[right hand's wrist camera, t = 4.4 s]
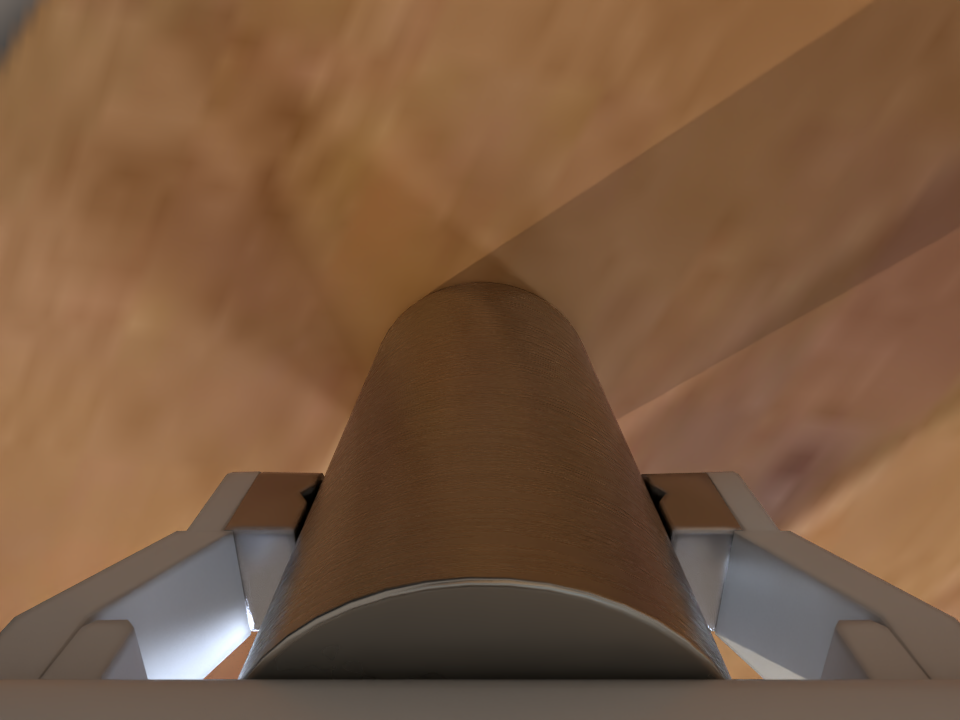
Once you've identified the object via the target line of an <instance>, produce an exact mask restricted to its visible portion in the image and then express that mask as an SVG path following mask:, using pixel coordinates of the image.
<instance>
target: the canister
mask: <svg viewBox="0 0 960 720" xmlns="http://www.w3.org/2000/svg"><path fill="white" fill-rule="evenodd" d="M238 679H731V677H730V675H729V672H728V670H727V668H726V666H725V663H724V661H723V659H722V657H721V654H720V652H719V650H718V648H717V645H716V643H715V641H714V639H713V636H712V634H711V632H710V630H709V627H708V625H707V623H706V621H705V618H704V616H703V614H702V612H701V609H700V607H699V605H698V603H697V600H696V598H695V596H694V594H693V591H692V589H691V587H690V585H689V582H688V580H687V578H686V576H685V573H684V571H683V569H682V567H681V564H680V562H679V560H678V558H677V555H676V553H675V551H674V548H673V546H672V544H671V542H670V539H669V537H668V535H667V533H666V530H665V528H664V526H663V524H662V521H661V519H660V517H659V515H658V512H657V510H656V508H655V506H654V503H653V501H652V499H651V497H650V494H649V492H648V490H647V488H646V485H645V483H644V481H643V479H642V476H641V474H640V472H639V470H638V467H637V465H636V463H635V461H634V458H633V456H632V454H631V452H630V449H629V447H628V445H627V443H626V440H625V438H624V436H623V434H622V431H621V429H620V427H619V425H618V422H617V420H616V418H615V416H614V413H613V411H612V409H611V407H610V404H609V402H608V400H607V398H606V395H605V393H604V391H603V389H602V386H601V384H600V382H599V380H598V377H597V375H596V373H595V371H594V368H593V366H592V364H591V362H590V359H589V357H588V355H587V353H586V350H585V348H584V346H583V344H582V342H581V340H580V338H579V336H578V334H577V333H576V331H575V330H574V328H573V327H572V326H571V324H570V323H569V322H568V320H567V319H566V318H565V317H564V316H563V315H562V314H561V313H560V312H559V311H558V310H557V309H555V308H554V307H553V306H551V305H550V304H549V303H548V302H546V301H545V300H543V299H541V298H539V297H538V296H536V295H534V294H532V293H530V292H527V291H525V290H522V289H520V288H516V287H512V286H509V285H504V284H497V283H479V282H475V283H467V284H459V285H455V286H452V287H448V288H444V289H442V290H439V291H437V292H434V293H432V294H430V295H428V296H426V297H425V298H423V299H421V300H419V301H418V302H416V303H415V304H414V305H412V306H411V307H410V308H408V309H407V310H406V311H405V312H404V313H403V314H402V315H401V316H400V317H399V318H398V319H397V320H396V321H395V323H394V324H393V325H392V327H391V328H390V329H389V331H388V332H387V334H386V336H385V338H384V340H383V341H382V343H381V346H380V348H379V350H378V353H377V355H376V357H375V360H374V362H373V364H372V367H371V369H370V371H369V374H368V376H367V378H366V381H365V383H364V385H363V388H362V390H361V392H360V395H359V397H358V399H357V402H356V404H355V406H354V409H353V411H352V413H351V416H350V418H349V420H348V423H347V425H346V428H345V430H344V432H343V435H342V437H341V439H340V442H339V444H338V446H337V449H336V451H335V453H334V456H333V458H332V460H331V463H330V465H329V467H328V470H327V472H326V474H325V477H324V479H323V481H322V484H321V486H320V488H319V491H318V493H317V495H316V498H315V500H314V502H313V505H312V507H311V509H310V512H309V514H308V516H307V519H306V521H305V523H304V526H303V528H302V530H301V533H300V535H299V537H298V540H297V542H296V544H295V547H294V549H293V551H292V554H291V556H290V558H289V561H288V563H287V565H286V568H285V570H284V573H283V575H282V577H281V580H280V582H279V584H278V587H277V589H276V591H275V594H274V596H273V598H272V601H271V603H270V605H269V608H268V610H267V612H266V615H265V617H264V619H263V622H262V624H261V626H260V629H259V631H258V633H257V636H256V638H255V640H254V643H253V645H252V647H251V650H250V652H249V654H248V657H247V659H246V661H245V664H244V666H243V668H242V671H241V673H240V675H239V678H238Z"/></svg>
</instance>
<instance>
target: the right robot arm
mask: <svg viewBox="0 0 960 720" xmlns="http://www.w3.org/2000/svg"><path fill="white" fill-rule="evenodd" d="M641 476H642V479H643V481H644V483H645V485H646V488H647V490H648V492H649V494H650V497H651V499H652V501H653V503H654V506H655V508H656V510H657V512H658V515H659V517H660V519H661V521H662V524H663V526H664V528H665V530H666V533H667V535H668V537H669V539H670V542H671V544H672V546H673V548H674V551H675V553H676V555H677V558H678V560H679V562H680V564H681V567H682V569H683V571H684V573H685V576H686V578H687V580H688V582H689V585H690V587H691V589H692V591H693V594H694V596H695V598H696V600H697V603H698V605H699V607H700V609H701V612H702V614H703V616H704V618H705V621H706V623H707V625H708V627H709V630H710V631H715V634H716V635H717V636H718V637H719V638H720V639H721V640H722V641H723V642H724V643H725V644H727V645H728V646H729V647H730V648H731V649H732V650H733V651H734V652H735V653H736V654H737V655H739V656H740V657H741V658H742V659H743V660H744V661H745V662H746V663H747V664H748V665H749V666H750V667H752V668H753V669H754V670H755V671H756V672H757V673H758V674H759V675H760V676H761V677H762V678H763V679H203V678H204V677H206V676H207V675H208V674H209V673H210V672H211V671H212V670H213V669H214V668H215V667H216V666H217V665H218V664H220V663H221V662H222V661H223V660H224V659H225V658H226V657H227V656H228V655H229V654H230V653H231V652H232V651H234V650H235V649H236V648H237V647H238V646H239V645H240V644H241V643H242V642H243V641H244V640H245V639H246V638H248V637H249V636H250V635H251V632H250V631H259V629H260V626H261V624H262V622H263V619H264V617H265V615H266V612H267V610H268V608H269V605H270V603H271V601H272V598H273V596H274V594H275V591H276V589H277V587H278V584H279V582H280V580H281V577H282V575H283V573H284V570H285V568H286V565H287V563H288V561H289V558H290V556H291V554H292V551H293V549H294V547H295V544H296V542H297V540H298V537H299V535H300V533H301V530H302V528H303V526H304V523H305V521H306V519H307V516H308V514H309V512H310V509H311V507H312V505H313V502H314V500H315V498H316V495H317V493H318V491H319V488H320V486H321V484H322V481H323V479H324V475H323V473H287V472H263V473H261V472H232V473H229V474H227V475H226V476H225V477H224V479H223V480H222V482H221V483H220V484H219V486H218V487H217V489H216V490H215V492H214V493H213V494H212V496H211V497H210V499H209V500H208V501H207V503H206V504H205V506H204V507H203V508H202V510H201V511H200V513H199V514H198V516H197V517H196V518H195V520H194V521H193V523H192V524H191V525H190V527H189V528H188V530H187V531H176V532H174V533H172V534H170V535H168V536H167V537H165V538H163V539H161V540H159V541H157V542H155V543H153V544H151V545H150V546H148V547H146V548H144V549H142V550H140V551H138V552H136V553H135V554H133V555H131V556H129V557H127V558H125V559H123V560H121V561H119V562H118V563H116V564H114V565H112V566H110V567H108V568H106V569H104V570H102V571H101V572H99V573H97V574H95V575H93V576H91V577H89V578H87V579H86V580H84V581H82V582H80V583H78V584H76V585H74V586H72V587H70V588H69V589H67V590H65V591H63V592H61V593H59V594H57V595H55V596H54V597H52V598H50V599H48V600H46V601H44V602H42V603H40V604H38V605H37V606H35V607H33V608H31V609H29V610H27V611H25V612H23V613H21V614H20V615H18V616H16V617H14V618H13V619H12V621H11V622H10V623H9V624H8V625H7V626H6V627H5V628H4V629H3V630H2V631H1V632H0V720H960V623H959V622H958V621H957V620H956V619H955V618H954V617H952V616H950V615H948V614H946V613H944V612H942V611H941V610H939V609H937V608H935V607H933V606H931V605H929V604H927V603H925V602H923V601H922V600H920V599H918V598H916V597H914V596H912V595H910V594H908V593H906V592H904V591H903V590H901V589H899V588H897V587H895V586H893V585H891V584H889V583H887V582H886V581H884V580H882V579H880V578H878V577H876V576H874V575H872V574H870V573H868V572H867V571H865V570H863V569H861V568H859V567H857V566H855V565H853V564H851V563H849V562H848V561H846V560H844V559H842V558H840V557H838V556H836V555H834V554H832V553H831V552H829V551H827V550H825V549H823V548H821V547H819V546H817V545H815V544H813V543H812V542H810V541H808V540H806V539H804V538H802V537H800V536H798V535H796V534H794V533H793V532H791V531H780V530H779V529H778V527H777V526H776V525H775V523H774V522H773V521H772V519H771V518H770V517H769V515H768V514H767V512H766V511H765V510H764V508H763V507H762V506H761V504H760V503H759V501H758V500H757V499H756V497H755V496H754V495H753V493H752V492H751V491H750V489H749V488H748V486H747V485H746V484H745V482H744V481H743V480H742V478H741V477H740V475H739V474H737V473H735V472H733V471H729V472H703V473H668V474H641Z"/></svg>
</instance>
